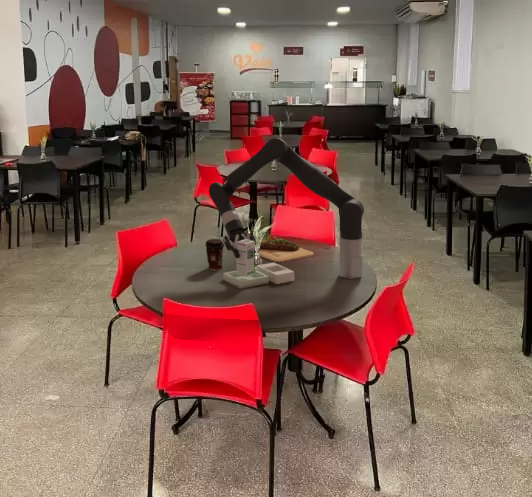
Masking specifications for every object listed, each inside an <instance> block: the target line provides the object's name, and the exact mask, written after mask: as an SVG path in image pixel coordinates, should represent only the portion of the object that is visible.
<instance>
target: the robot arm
mask: <svg viewBox="0 0 532 497" xmlns="http://www.w3.org/2000/svg"><path fill="white" fill-rule="evenodd" d="M273 161H277V162H279V164H281V165H283V166H284V167H285V168H287V169H288V170H289V171H290V172H291V173H292V175H293V176H294V177H295V178H296V179H297V180H298V181H299V182H300V183H301V184H302V185H303V186H304V187H306V189H308V190H309V191H310V192H312V193H314V194H315V195H317V196H319V197H321V198H323V199H324V200H327V201H329V202H330V203H332V204H333V205H334V206H335V207H336V208H337V209H338V210H340V211H339V233H340V235H339V236H340V238H339V239H340V240H339V260H338V261H339V265H338V276H339V277H341V278H344V279H349V280H353V279H354V280H355V279H359V278H362V276H363V273H362V272H363V259H364V258H363V255H362V245H363V244H362V242H363V232H362V226H363V225H362V224H363V222H362V221H363V220H362V218H363V216H364V213H365V207H364V205H363V202H361V201H360V200H358V199H357V198H356V197H354V196H352V195H351V194H349V193H348V192H347V191H345V190H344V189H342V188H341V187H340V186H339V185H338V184H337V183H336V182H335V181H333V180H332V179H331V178H330V177H329V176H328V175H326V174H325V173H324V172H323V171H322V170H320V169H319V168H318V167H316V166H315V165H314V164H313V163H311V162H310V161H308V160H307V159H305V158H303V157H301V156H300V155H299V154H298V153H297V152H296V151H295V150H294V149H293V148H292V147H291V146H290V145H289V144H288V143H287V142H286V141H285V140H284V139H282V138H280V137H271V138H269V139H268V140H267V141H266V142H265V144H264V145H263V146H262V147H261V148H260V150H258V151H257V152H256V153H255V154H254V155H253V156H252V157H250V158H249V159H248V160H246V161H245V162H243V163H242V164H241V165H239V166H238V167H236V168H235V169H234V170H233V171H231V172H230V173H229V174H228V175H227V176H226V182H225V183H224V184H222V183H220V182H218V181H215V182H212V183H211V184H210V185H209V187H208V195H209V198H210V200H211V201H212V203H213V204H214V206H215V207H216V208H217V210H218V213H219V216H220V219H221V222H222V225H223V227H224V230H225V232H226V235H224V237H223V239H222V242H223V243H224V247H225V248H226V251H228V252H229V251H231V252H232V253H233V256H234V258H236V260H237V259H238V258H239V257H240V255H239V252H238V250H237V249H236V242H238V241H241V240H244V239H248V240H253V241H255V245H256V243H257V242H256V241H257V240H256V237H255V235H254V233H253V231H251V232H250V233H247V232H246V231H245V227H244V225H243V223H242V220H241V218H240V216H239V213H237V211H236V208H235V205H234V204H233V202H232V201H231V200H230V198H231V197H232V196H233V195H234V193H235V192H236V191H237V190H238V188H241V186H243V185H245V183H246V182H248V181H249V180H251V178H252V177H253V176H255V174H257V173H258V172H259V171H260V170H261V169H262V168H264V167H265V166H267V165H268V164H270V163H272V162H273ZM231 242H232V243H231ZM255 253H256V251H255Z"/></svg>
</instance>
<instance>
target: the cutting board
mask: <svg viewBox="0 0 532 497" xmlns="http://www.w3.org/2000/svg"><path fill="white" fill-rule="evenodd" d="M261 240H262V242H261V246H260V249H259V254H260V255H261V258H262V259H265V260H267V259H268V261H270V262H272V261H273V262H274V263H277V262H278V263H279V264H280V262H281V263H285V261H286V262H290V261H294V260H295V261H296V260H301V259H306V258H309V257H311V258H312V257H313V256H314V252H313V251H311V250H307V249H304V248H303V247H301V246H300V245H297V244H296V243H295V242H290V241H288V240H285V239H284V238H279V239H278V238H277V237H276V236H275V235H274V234H273V233H270V234H269V235H268V237H265V238H264V237H263V238H261ZM273 262H272V263H273ZM278 263H277V264H278Z"/></svg>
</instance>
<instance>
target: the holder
mask: <svg viewBox="0 0 532 497" xmlns="http://www.w3.org/2000/svg"><path fill="white" fill-rule="evenodd" d="M256 270H257V271H259V272H261V273H263V274H265V275H267V276H269V282H271V283H274V284H275V285H280V283H281V284H284V283H285V284H286V283H291V282H294V281H295V271H294V270H291V269H290V268H287V267H285V266H284V265H283V266H282V265H280V264H278V263H277V262H268V263H264V264H263V263H262V264H257V265H256Z"/></svg>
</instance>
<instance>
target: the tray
mask: <svg viewBox="0 0 532 497" xmlns="http://www.w3.org/2000/svg"><path fill="white" fill-rule="evenodd" d="M222 275H223V278H222V279H223V281H225V282H227V283H229V284H230V285H232V286H233V287H236V288H237V289H240V290H241V289H247V288H251V287H256V286H257V287H258V286H262V285H265V284H270V281H269V276H267V275H265V274H263V273H261V272H259V271H257V269H255V274H253V275H250V276H248V277H245V276H241V275H238V274H237V270H233V271H232V270H231V271H227V272H223V274H222Z"/></svg>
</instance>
